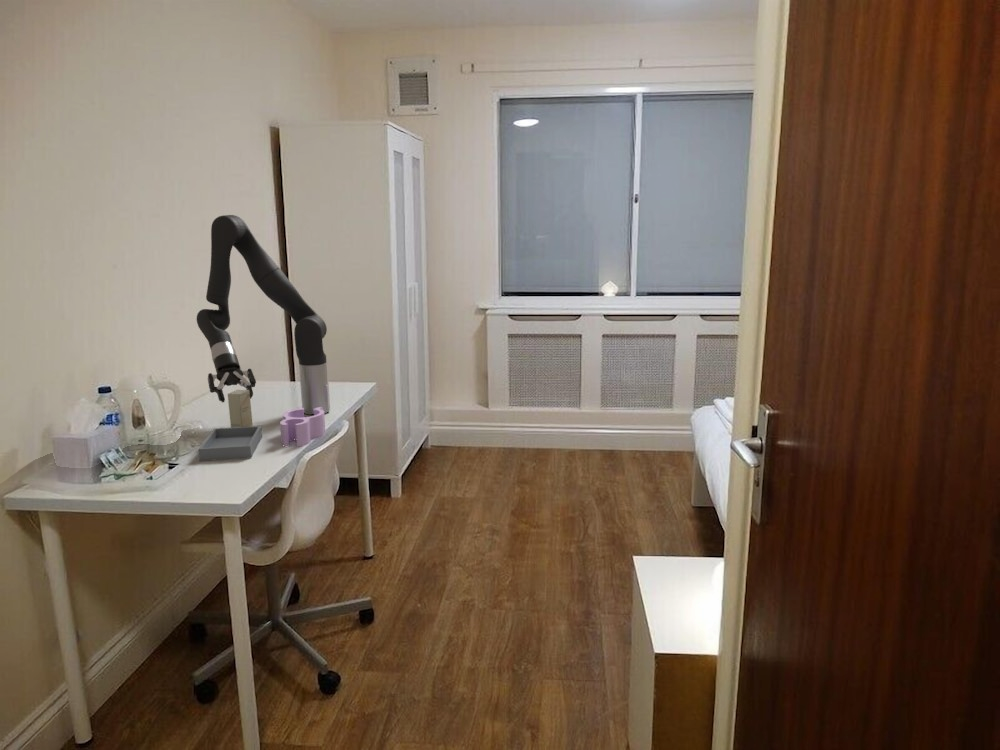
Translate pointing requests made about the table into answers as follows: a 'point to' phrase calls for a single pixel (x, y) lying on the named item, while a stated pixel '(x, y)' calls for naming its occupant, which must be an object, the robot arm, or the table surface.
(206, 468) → the table surface
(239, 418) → the skincare box
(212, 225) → the robot arm
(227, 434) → the tray
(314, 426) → the clip
